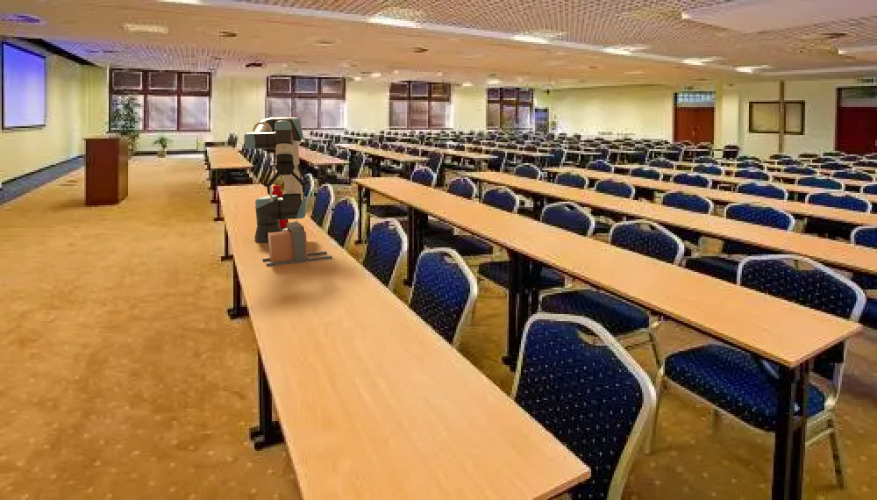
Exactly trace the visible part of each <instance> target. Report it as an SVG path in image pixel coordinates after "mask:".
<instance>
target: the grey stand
mask: <svg viewBox="0 0 877 500" xmlns="http://www.w3.org/2000/svg"><path fill="white" fill-rule="evenodd" d="M287 231H292V240H293V254H294V260H286V261H278V262H271V261H270V256H269V257H263V258H261V259H262V262H265V264H266V265H265V266H266V267H271V266H279V265H288V264H289V265H290V264H302V263H307V262H313V261H314V262H315V261H321V260H324V261H325V260H331V259H333V255H331V254H330V255H328V252H327V250H324V251H322V250H321V251H316V252H307V254H308V258H306V252H305V236H304V231H305V226H304V225H302V224H301V223H299V222H298V221H297V222H295V221H294V222H289V223H287ZM313 256H314V257H313Z"/></svg>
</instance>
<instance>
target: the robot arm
mask: <svg viewBox="0 0 877 500" xmlns="http://www.w3.org/2000/svg"><path fill="white" fill-rule="evenodd" d="M301 123H302V122H301V119H300V118H299V117H291V116H290V117H288V116H287V117H268V118H263V119H262V120H259V121H257V122H256V123H255V124H254V126H253V127H252V128H253V129H252V132H246V133H244V135H243V136H244V137H243V138H244V139H243V141H244V146H245V148H246V149H247V150H260V149H261V150H262V149H271V150H272V149H275V154H276V156H275V159H276V160H275V161H276V162H275V163H276V165H273V164H271V165H269V168H268V169H269V170H268V172H267V174H266V176H265V178H264V179H263V181H262V186H263V187H265V188H266V189H267V191H266V192H267V194H268V195H266V196H265V195H264V196H260V197H258V198H256V199H255V201H254V202H255V203H254V204H255V207H254V208H255V213H256V214H255V216H256V217H255V218H256V230H255V234H254V241H255V242H259V243H269V241H268V233H271V232H282V230H283V229H281V227H280V224H279V220H284V219H288V220H300V219H304V218H305V217H306V216H307V205H308V197H307V196H305V194H306V186H309V185H310V183H309V182H310V181H308V179H307V177H306V175H305V173H304V171H303V170H302V167H301V164H300V152H299V146H300V145H301V143H302V140H304V134H303V128H302V124H301ZM275 170H276V173H275V174H274V175H273V177H272V178H271V176H272V174H273V172H274V171H275ZM280 176H283V186H284V187H283V188H284V190H283V193H282V198H278V196H277V195H272V191H273V184H274V183H275V181H276V180H277V179H278V178H279V177H280ZM270 178H271V179H270ZM301 178H302V179H303V180H302V179H301ZM269 194H270V195H269Z"/></svg>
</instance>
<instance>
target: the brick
mask: <svg viewBox="0 0 877 500" xmlns="http://www.w3.org/2000/svg"><path fill="white" fill-rule="evenodd" d="M304 236H305V252H306V258H309V256H308V254H307V253H308V242H307V241H308V240H307V231H305V230H304ZM268 241H269V242H268V250H269V251H268V252H269V257H270V261H269V262H278V261H286V260H294V254H293V240H292V231H282V232H271V233H268Z"/></svg>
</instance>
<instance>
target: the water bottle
mask: <svg viewBox="0 0 877 500" xmlns="http://www.w3.org/2000/svg"><path fill="white" fill-rule="evenodd" d="M281 189H282V187H281V185H279V184H278V185H277V184H276V185H272V195H277V196H278V198H282V193H283V192H284V190H281ZM269 195H270V194H268V196H269ZM287 223H290V222H289V219H284V220H279V224H280V227H281V229H282V230H283V229H285V228H287Z"/></svg>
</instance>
